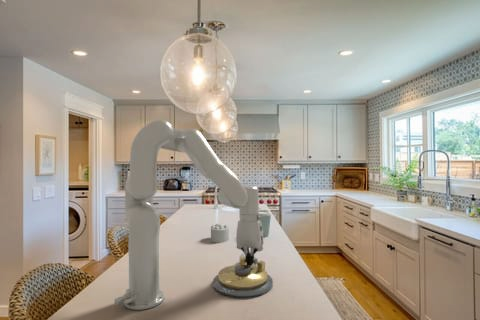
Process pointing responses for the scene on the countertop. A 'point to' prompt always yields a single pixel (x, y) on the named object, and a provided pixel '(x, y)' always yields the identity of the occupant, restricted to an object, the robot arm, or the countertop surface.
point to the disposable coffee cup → (265, 221)
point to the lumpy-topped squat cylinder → (219, 233)
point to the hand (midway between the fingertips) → (250, 264)
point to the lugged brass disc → (243, 276)
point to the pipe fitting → (254, 259)
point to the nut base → (243, 294)
